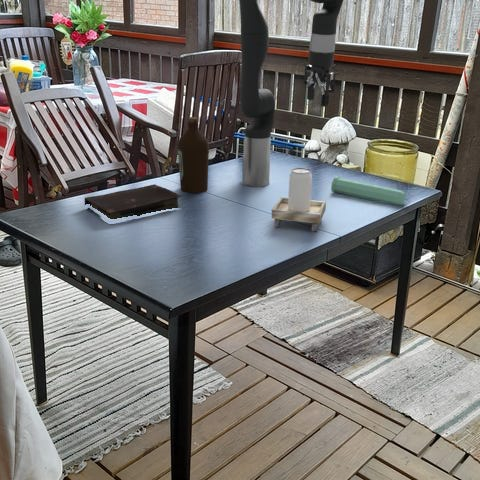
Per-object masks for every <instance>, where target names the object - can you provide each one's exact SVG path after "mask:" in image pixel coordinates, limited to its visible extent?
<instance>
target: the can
mask: <svg viewBox="0 0 480 480" xmlns="http://www.w3.org/2000/svg"><path fill="white" fill-rule="evenodd" d="M290 171H291V172H290V174H289V181H288V197H287V198H288V209H289V210H290V211H299V212H308V211H309V210H310V201H311V200H312V199H311V198H312V197H311V196H312V184H313V182H312V181H313V175H312V173H311V169H309V168H305V167H295V168H292V169H290Z"/></svg>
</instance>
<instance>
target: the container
mask: <svg viewBox="0 0 480 480" xmlns="http://www.w3.org/2000/svg"><path fill="white" fill-rule="evenodd" d="M330 190H331V192H332V194H333V193H334V194H335V193H338V194H343V195H346V196H352V197H357V198H361V199H366V200H371V201H376V202H380V203H381V202H382V203H385V204H390V205H395V206H402V205H403V204H404V203H405V201H406V192H404V191H403V190H401V189H395V188H391V187H386V186H380V185H375V184H369V183H366V182H360V181H356V180H350V179H345V178H341V177H340V176H338V175H337V176H334V177H333V179H332V182H331V188H330Z"/></svg>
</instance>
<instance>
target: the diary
mask: <svg viewBox="0 0 480 480" xmlns="http://www.w3.org/2000/svg"><path fill="white" fill-rule="evenodd" d="M182 196H183V195H181V194H178V193H177V192H175V191H173V190H170V189H168V188H165V187H162V186H159V185H157V184H156V183H155V184H151V185H150V184H149V185H145V186H141V187H135V188H129V189H122V190H118V191H114V192H110V193H106V194H101V195H94V196H88V197H84V206H85V205H86V204H90V206H91V205H92V207H93V208H95V209H97V210H98V211H100V212H101V213H103V214H104V215H106V216H107V217H108V218H110V219H117V218H122V217H128V216H133V215H137V216H140V215H142V214H146V213H151V212H156V211H161V210H166V209H172V208H178V207H179V201H178V200H179V198H181V197H182Z"/></svg>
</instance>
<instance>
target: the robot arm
mask: <svg viewBox="0 0 480 480" xmlns="http://www.w3.org/2000/svg"><path fill="white" fill-rule="evenodd" d="M309 1H310V2H313V3H316V4H322V7H321V9H320V10H318V11H317V12H315V13H314V14H313V16H312V23H311V24H312V25H311V36H310V40H309V48H308V49H309V51H308V62H307V63H308V64H307V65H305V68H304V77H303V84H304V85H306V88H307V91H306V92H307V93H306V100H308V101H312V100H314V99H315V90H316V88H315V87H316V85H318V87H319V88H320V90H321V93H322V94H321V99H320V106H321V107H322V108H323V107H325V108H326V107H328V106H329V103H330V102H329V101H330V95H331V94H334V93H335V89H336V88H335V87H336V76H337V75H336V72H330V68H331V67H333V65H334V60H335V50H336V33H337V32H336V30H337V21H338V20H337V19H338V17H339V14H340V11H341V8H342V6H343V2H344V0H309ZM239 13H240V14H239V15H240V47H241V49H240V50H241V81H240V93H239V103H240V109H241V112H242V115H244V116H245V117H246V118H247V119H252V121H251V122H250V123H249V124H248V125H247V126H246V127H244V143H243V144H244V146H243V147H244V149H243V150H244V151H243V152H244V153H243V156H244V157H242V169H241V170H242V177H241V179H242V180H241V182H242V185H246V186H250V187H266V186H268V185H269V184H270V173H271V172H270V171H271V143H272V142H271V141H272V140H271V139H272V138H271V136H272V132H273V128H274V123H275V122H274V121H275V112H276V101H275V97H274V94H273V92H272V91H271V90H270V89H268V88H259V83H260V82H259V81H260V79H259V78H260V74H261V70H262V67H263V65H264V62H265V60H266V58H267V56H268V52H269V48H270V47H269V44H270V43H269V41H270V39H269V37H270V36H269V35H270V34H269V31H270V30H269V25H268V22H267V20H266V18H265V16H264V14H263V12H262V10H261V8H260V5H259V2H258V0H239Z"/></svg>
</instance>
